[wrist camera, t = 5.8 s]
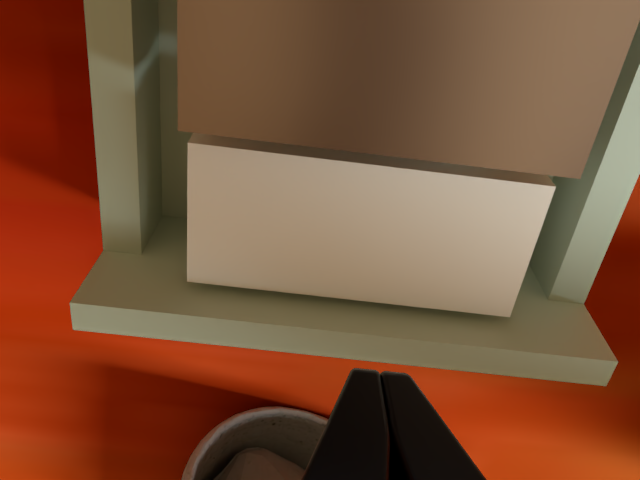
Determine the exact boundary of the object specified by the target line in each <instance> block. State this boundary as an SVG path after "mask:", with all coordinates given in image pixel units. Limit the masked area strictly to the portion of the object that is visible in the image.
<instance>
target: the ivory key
mask: <svg viewBox="0 0 640 480" xmlns="http://www.w3.org/2000/svg"><path fill="white" fill-rule="evenodd" d="M555 188H556V186H555V185H554V183H553V182H552V180H551V179H550V178H549V176H548V175H541V174H533V173H525V172H516V171H508V170H500V169H491V168H483V167H475V166H466V165H458V164H450V163H441V162H433V161H425V160H417V159H408V158H400V157H392V156H383V155H375V154H367V153H358V152H350V151H342V150H333V149H325V148H317V147H308V146H300V145H292V144H283V143H275V142H267V141H258V140H250V139H242V138H233V137H225V136H217V135H208V134H200V133H193V134H192V136H191V138H190V139H189V141H188V163H187V282H194V283H203V284H213V285H222V286H231V287H240V288H249V289H258V290H267V291H276V292H285V293H294V294H303V295H313V296H322V297H331V298H340V299H349V300H358V301H367V302H376V303H385V304H394V305H403V306H412V307H422V308H431V309H440V310H449V311H458V312H467V313H476V314H485V315H494V316H503V317H510V315H511V313H512V310H513V307H514V304H515V301H516V299H517V296H518V293H519V290H520V287H521V284H522V282H523V279H524V276H525V273H526V270H527V267H528V265H529V262H530V259H531V256H532V253H533V251H534V248H535V245H536V242H537V239H538V236H539V234H540V231H541V228H542V225H543V222H544V219H545V217H546V214H547V211H548V208H549V205H550V203H551V200H552V197H553V194H554V191H555Z"/></svg>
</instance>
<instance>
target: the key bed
mask: <svg viewBox="0 0 640 480" xmlns="http://www.w3.org/2000/svg"><path fill="white" fill-rule="evenodd" d="M84 13H85V26H86V38H87V51H88V63H89V76H90V89H91V101H92V114H93V127H94V139H95V152H96V164H97V177H98V190H99V202H100V215H101V228H102V240H103V252H102V253H101V255H100V256H99V258H98V260H97V261H96V263H95V264H94V266H93V267H92V269H91V270H90V272H89V274H88V275H87V277H86V278H85V280H84V281H83V283H82V284H81V286H80V287H79V289H78V291H77V292H76V294H75V295H74V297H73V298H72V300H71V301H70V309H71V318H72V326H73V330H80V331H90V332H99V333H109V334H118V335H128V336H137V337H147V338H156V339H165V340H175V341H184V342H194V343H203V344H213V345H222V346H231V347H241V348H250V349H260V350H269V351H279V352H288V353H297V354H307V355H316V356H326V357H335V358H345V359H354V360H363V361H373V362H382V363H392V364H401V365H411V366H420V367H430V368H439V369H448V370H458V371H467V372H477V373H486V374H496V375H505V376H514V377H524V378H533V379H543V380H552V381H562V382H571V383H580V384H590V385H599V386H607V384H608V382H609V380H610V378H611V376H612V374H613V372H614V370H615V368H616V366H617V364H618V360H617V359H616V357H615V355H614V354H613V352H612V350H611V349H610V347H609V345H608V344H607V342H606V340H605V339H604V337H603V335H602V334H601V332H600V330H599V329H598V327H597V325H596V324H595V322H594V320H593V319H592V317H591V315H590V314H589V312H588V310H587V309H586V307H585V305H584V303H585V300H586V298H587V295H588V293H589V291H590V288H591V286H592V284H593V281H594V279H595V277H596V274H597V272H598V270H599V267H600V265H601V263H602V260H603V258H604V256H605V253H606V251H607V249H608V246H609V244H610V242H611V239H612V237H613V235H614V232H615V230H616V228H617V225H618V223H619V221H620V218H621V216H622V214H623V211H624V209H625V207H626V204H627V202H628V200H629V197H630V195H631V193H632V190H633V188H634V186H635V183H636V181H637V179H638V176H639V174H640V21H639V24H638V26H637V29H636V32H635V34H634V37H633V40H632V42H631V45H630V48H629V50H628V53H627V56H626V58H625V61H624V64H623V66H622V69H621V72H620V74H619V77H618V80H617V82H616V85H615V88H614V90H613V93H612V96H611V98H610V101H609V104H608V106H607V109H606V112H605V114H604V117H603V120H602V122H601V125H600V128H599V130H598V133H597V136H596V138H595V141H594V144H593V146H592V149H591V152H590V154H589V157H588V160H587V162H586V165H585V168H584V170H583V173H582V176H581V178H580V179H575V178H566V177H558V176H550V175H548V176H549V178H550V179H551V180H552V182H553V183H554V185H555V186H556V188H555V191H554V194H553V197H552V200H551V203H550V205H549V208H548V211H547V214H546V217H545V219H544V222H543V225H542V228H541V231H540V234H539V236H538V239H537V242H536V245H535V248H534V251H533V253H532V256H531V259H530V262H529V265H528V267H527V270H526V273H525V276H524V279H523V282H522V284H521V287H520V290H519V293H518V296H517V299H516V301H515V304H514V307H513V310H512V313H511V315H510V317H503V316H494V315H485V314H476V313H467V312H458V311H449V310H440V309H431V308H422V307H412V306H403V305H394V304H385V303H376V302H367V301H358V300H349V299H340V298H331V297H322V296H313V295H303V294H294V293H285V292H276V291H267V290H258V289H249V288H240V287H231V286H222V285H213V284H203V283H194V282H187V163H188V141H189V139H190V138H191V136H192V134H193V133H192V132H183V131H178V77H177V0H84Z"/></svg>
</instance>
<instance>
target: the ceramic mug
mask: <svg viewBox="0 0 640 480" xmlns="http://www.w3.org/2000/svg"><path fill="white" fill-rule="evenodd" d="M327 422H328V419H327V418H325V417H322V416H319V415H317V414H314V413H311V412H308V411H305V410H299V409H294V408H288V407H281V406H274V407H261V408H255V409H251V410H248V411H244V412H241V413H238V414H235V415H233V416H232V417H230V418H228V419H226V420H225V421H223V422H221V423H220V424H218V425H217V426H216V427H215V428H213V429H212V430H211V431H210V432H209V433H208V434H207V435H206V436H205V437H204V438H203V439H202V440H201V441H200V443H199V444H198V446H197V447H196V448H195V450H194V451H193V453H192V454H191V456H190V458H189V461H188V463H187V465H186V467H185V470H184V472H183V475H182V479H181V480H301V478H302V476H303V474H304V472H305V470H306V467H307V465H308V463H309V461H310V459H311V457H312V454H313V452H314V450H315V448H316V446H317V443H318V441H319V439H320V437H321V435H322V433H323V430H324V428H325V426H326V424H327Z"/></svg>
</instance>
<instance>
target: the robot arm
mask: <svg viewBox="0 0 640 480" xmlns="http://www.w3.org/2000/svg"><path fill="white" fill-rule="evenodd" d="M301 480H486V479H485V477H484V476H483V475H482V473H481V472H480V470H479V469H478V468H477V466H476V465H475V464H474V462H473V461H472V460H471V458H470V457H469V455H468V454H467V453H466V451H465V450H464V449H463V447H462V446H461V444H460V443H459V442H458V440H457V439H456V438H455V436H454V435H453V434H452V432H451V431H450V429H449V428H448V427H447V425H446V424H445V423H444V421H443V420H442V419H441V417H440V416H439V414H438V413H437V412H436V410H435V409H434V408H433V406H432V405H431V404H430V402H429V401H428V399H427V398H426V397H425V395H424V394H423V393H422V391H421V390H420V389H419V387H418V386H417V384H416V383H415V382H414V380H413V379H412V378H411V376H409V375H408V374H406V373H399V372H389V371H384V372H382V373H381V374H379V372H378V371H376V370H369V369H359V368H354V369H352V370H351V372H350V374H349V376H348V378H347V380H346V382H345V385H344V387H343V389H342V391H341V393H340V395H339V398H338V400H337V402H336V404H335V406H334V409H333V411H332V413H331V415H330V417H329V419H328V422H327V424H326V426H325V428H324V430H323V433H322V435H321V437H320V439H319V441H318V443H317V446H316V448H315V450H314V452H313V454H312V457H311V459H310V461H309V463H308V465H307V467H306V470H305V472H304V474H303V476H302V478H301Z"/></svg>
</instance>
